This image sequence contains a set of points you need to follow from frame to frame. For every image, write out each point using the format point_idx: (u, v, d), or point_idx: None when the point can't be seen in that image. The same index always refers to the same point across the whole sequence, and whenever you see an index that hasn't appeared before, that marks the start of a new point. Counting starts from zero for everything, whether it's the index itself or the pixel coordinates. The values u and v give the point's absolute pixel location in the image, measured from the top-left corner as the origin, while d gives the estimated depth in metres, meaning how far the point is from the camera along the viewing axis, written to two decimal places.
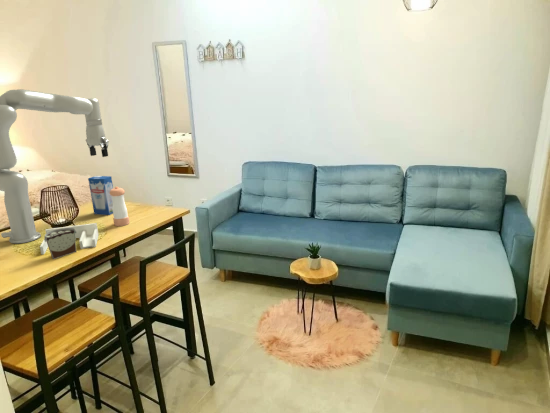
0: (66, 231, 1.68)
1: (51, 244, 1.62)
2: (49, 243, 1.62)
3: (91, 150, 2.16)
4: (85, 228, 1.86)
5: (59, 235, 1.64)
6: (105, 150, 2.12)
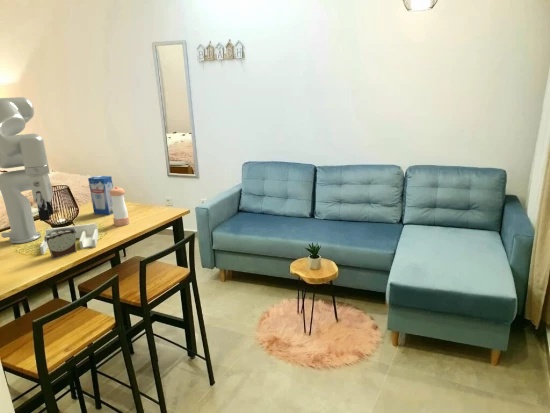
0: (66, 231, 1.68)
1: (51, 244, 1.62)
2: (49, 243, 1.62)
3: None
4: (85, 228, 1.86)
5: (59, 235, 1.64)
6: None
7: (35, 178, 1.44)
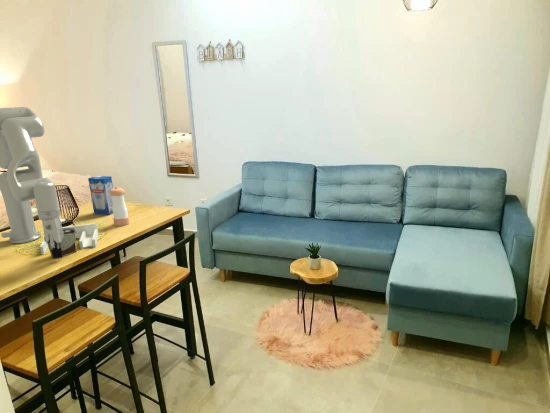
0: (66, 231, 1.68)
1: None
2: None
3: None
4: (85, 228, 1.86)
5: None
6: None
7: (47, 222, 1.53)
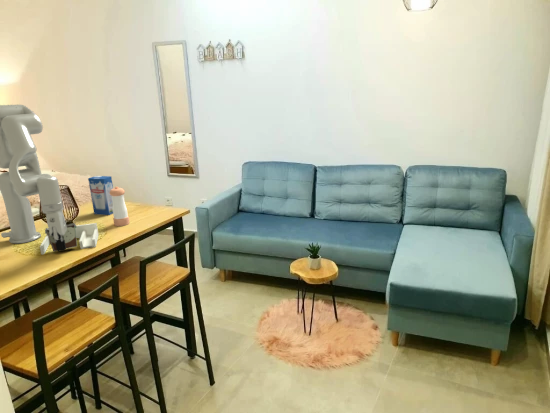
0: (67, 226, 1.74)
1: None
2: (49, 235, 1.66)
3: None
4: (85, 228, 1.86)
5: None
6: None
7: (51, 215, 1.59)
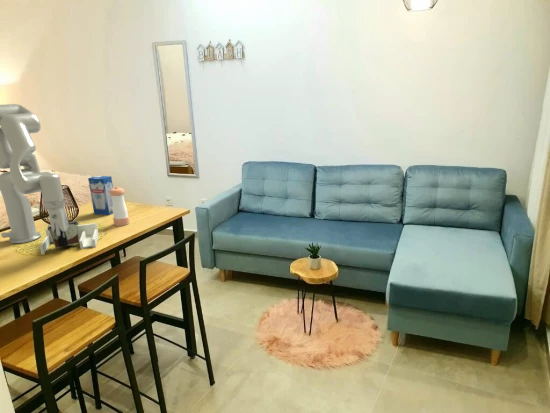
0: (69, 223, 1.77)
1: None
2: (51, 231, 1.70)
3: None
4: (85, 228, 1.86)
5: None
6: None
7: (53, 211, 1.63)
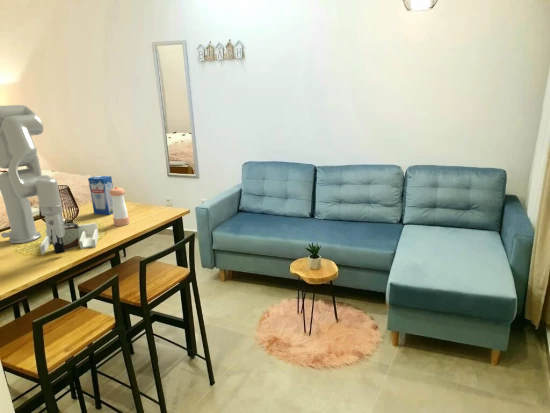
0: (70, 226, 1.74)
1: None
2: None
3: None
4: (85, 228, 1.86)
5: None
6: None
7: (50, 217, 1.58)
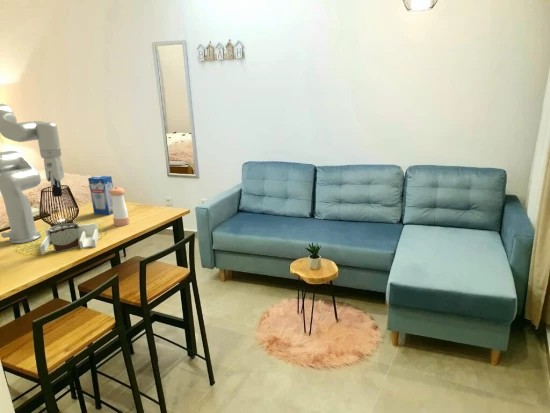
0: (70, 226, 1.74)
1: (54, 238, 1.69)
2: (52, 237, 1.69)
3: None
4: (85, 228, 1.86)
5: (62, 230, 1.71)
6: None
7: (48, 160, 1.64)
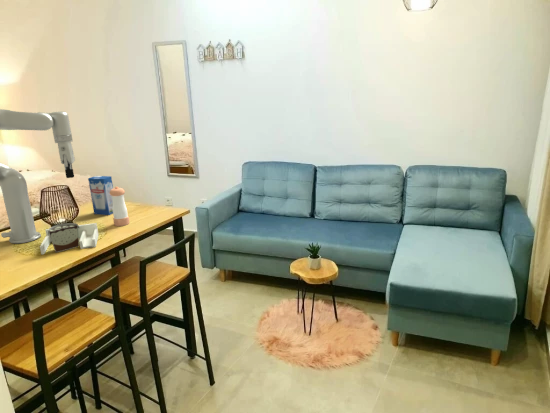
0: (70, 226, 1.74)
1: (54, 238, 1.69)
2: (52, 237, 1.69)
3: None
4: (85, 228, 1.86)
5: (62, 230, 1.71)
6: None
7: (62, 144, 1.86)
